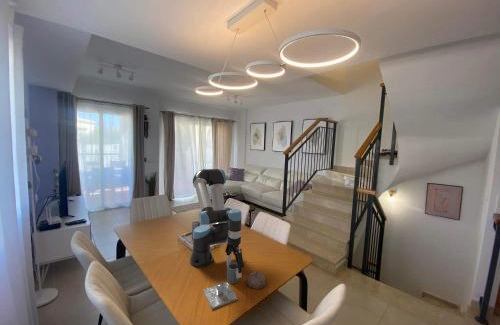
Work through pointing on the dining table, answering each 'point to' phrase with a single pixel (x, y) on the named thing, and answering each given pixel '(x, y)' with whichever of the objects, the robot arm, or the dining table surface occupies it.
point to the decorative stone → (256, 280)
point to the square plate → (219, 295)
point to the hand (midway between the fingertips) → (233, 271)
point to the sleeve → (232, 273)
